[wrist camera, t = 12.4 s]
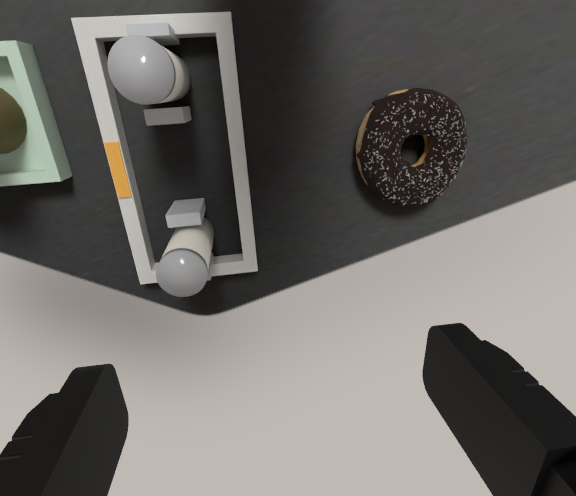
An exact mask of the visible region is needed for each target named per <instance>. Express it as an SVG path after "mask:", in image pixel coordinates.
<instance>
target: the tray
mask: <svg viewBox="0 0 576 496" xmlns="http://www.w3.org/2000/svg"><path fill="white" fill-rule="evenodd" d="M0 88H2V89H4V90H5V91H6V92H7V93H9V94H10V95H11V96H12V97H13V98H14V99H15V100H16V101H17V103H18V104H19V106H20V107H21V108H22V110H23V113H24V115H25V118H26V122H27V134H26V137H25V140H24V142H23V143H22V144H21V145H20V147H19V148H18V149H16V150H14V151H12V152H10V153H6V154H0V186H12V185H24V184H36V183H48V182H60V181H63V180H65V179H67V178H70V177H72V172H71V169H70V166H69V163H68V159H67V156H66V153H65V150H64V146H63V143H62V140H61V136H60V133H59V130H58V127H57V123H56V120H55V117H54V114H53V110H52V107H51V104H50V100H49V97H48V94H47V91H46V87H45V84H44V81H43V77H42V74H41V71H40V68H39V64H38V61H37V58H36V55H35V51H34V48H33V45H31V44H27V43H23V42H20V41H0Z"/></svg>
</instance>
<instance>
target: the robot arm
mask: <svg viewBox="0 0 576 496" xmlns="http://www.w3.org/2000/svg"><path fill="white" fill-rule="evenodd" d="M423 381H424V385H425V389H426V391H427V393H428V395H429V397H430V399H431V400H432V402H433V403H434V405H435V406H436V408H437V410H438V411H439V413H440V414H441V416H442V417H443V419H444V420H445V422H446V423H447V425H448V427H449V428H450V430H451V431H452V433H453V434H454V436H455V437H456V439H457V440H458V442H459V444H460V445H461V447H462V448H463V449H464V451H465V453H466V454H467V456H468V457H469V459H470V461H471V462H472V464H473V465H474V467H475V468H476V470H477V471H478V473H479V474H480V476H481V478H482V479H483V480H484V482H485V484H486V485H487V487H488V488H489V490H490V491H491V493H492V495H493V496H576V416H574V415H573V414H572V413H571V412H570V411H569V410H568V409H567V408H566V407H565V406H564V405H563V404H562V403H561V402H559V401H558V400H557V399H556V398H555V397H554V396H553V395H552V394H551V393H550V392H549V391H548V390H547V389H545V387H543V386H542V385H541V386H540V385H539V383H538V381H537V380H536V379H535V378H534V377H533V376H532V375H531V374H529V372H525V371H524V368H523V367H522V366H521V365H520V364H519V363H518V362H517V361H516V360H515V359H514V358H512V357H511V356H510V355H509V354H508V353H507V352H505V351H504V350H502V349H500V348H498V347H497V346H495V345H493V344H491V343H489V342H487V341H486V340H483V341H481V340H479V338H478V337H477V336H476V335H475V334H474V333H473V332H472V331H470V329H469V328H467V326H465V325H464V324H462V323H456V324H447V325H438V326H432V327H431V328H430V329H429V332H428V338H427V345H426V352H425V358H424V366H423ZM127 431H128V411H127V407H126V404H125V401H124V397H123V394H122V390H121V387H120V384H119V381H118V377H117V374H116V371H115V368H114V367H113V365H111V364H104V365H96V366H87V367H78V368H75V369H74V370H73V371H72V372H71V374H70V375H69V377H68V379H67V380H66V382H65V384H64V385H63V387H62V388H61V390H60V392H59V393H54V394H49V395H48V396H47V397H46V398H45V399H44V400H42V401H41V402H40V403H39V404H38V405H37V406H36V407H35V408H33V409H32V410H31V411H30V412H29V413H28V414H27V415H26V417H25V418H24V420H23V421H22V423H21V424H20V426H19V427H18V429H17V430H16V432H15V433H14V435H13V436H12V441H10V442H8V444H7V445H6V447H5V448H4V450H3V451H2V453H1V454H0V496H107V494H108V492H109V489H110V485H111V483H112V479H113V476H114V473H115V470H116V467H117V464H118V461H119V458H120V455H121V452H122V449H123V446H124V443H125V440H126V437H127Z"/></svg>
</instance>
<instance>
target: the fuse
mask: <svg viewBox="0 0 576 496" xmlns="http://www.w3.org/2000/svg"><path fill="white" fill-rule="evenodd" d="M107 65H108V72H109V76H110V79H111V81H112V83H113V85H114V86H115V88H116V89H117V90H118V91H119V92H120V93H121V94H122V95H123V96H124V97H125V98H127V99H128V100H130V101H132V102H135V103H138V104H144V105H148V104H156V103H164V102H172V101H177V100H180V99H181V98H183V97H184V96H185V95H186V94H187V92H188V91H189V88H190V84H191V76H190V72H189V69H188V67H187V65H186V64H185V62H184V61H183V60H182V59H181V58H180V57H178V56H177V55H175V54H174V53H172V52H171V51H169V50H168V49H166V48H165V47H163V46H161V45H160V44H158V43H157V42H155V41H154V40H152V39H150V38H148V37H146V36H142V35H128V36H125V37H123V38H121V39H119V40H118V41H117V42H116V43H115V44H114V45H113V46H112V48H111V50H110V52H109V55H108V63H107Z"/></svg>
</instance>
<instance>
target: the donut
mask: <svg viewBox="0 0 576 496" xmlns="http://www.w3.org/2000/svg"><path fill="white" fill-rule="evenodd" d="M372 104H373V105H374V106H373V108H372V109H371V110H370V111H369V112H368V113H367V114H366V116H365V118H364V120H363V122H362V124H361V126H360V128H359V130H358V135H357V141H356V161H357V164H358V168H359V171H360V173H361V176H362V178H363V180H364V182H365V183H366V188H367V189H369V190H370V191H372V192H374V193H375V194H376V195H377V196H378V197H380V198H382V199H384V200H386V201H388V202H390V203H391V204H392V205H394V206H419V205H422V204H425V203H429V202H432V201H433V200H435V199H436V198H438V197H439V196H440V195H441V194H442V193H444V192H445V191H446V189H448V187H449V186H450V185H451V183H452V182H453V180H454V179H455V177H456V175H457V173H458V171H459V170H460V168H461V165H462V163H463V160H464V157H465V153H466V152H465V151H466V144H467V135H466V125H465V120H464V117H463V114H462V112H461V110H460V108H459V106H458V105H457V104H456V103H455V102H454V101H453V100H451V99H450V98H448V97H447V96H445V95H443V94H441V93H439V92H436V91H434V90H430V89H422V88H411V89H405V90H399V91H396V92H393V93H391V94H389V95H387V96H386V97H384V98H382V99H380V100H375V101H374V102H372ZM415 134H416V135H422V136H423V138H424V141H425V148H424V152H423V154H422V156H421V157H420V158H419V160H418V161H417V162H416V163H415V164H413V165H410V164H409V163H408V162H407V161H403V159H402V156H401V147H402V144H403V142H404V140H405V139H407V138H408V137H409V136H412V135H415Z"/></svg>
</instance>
